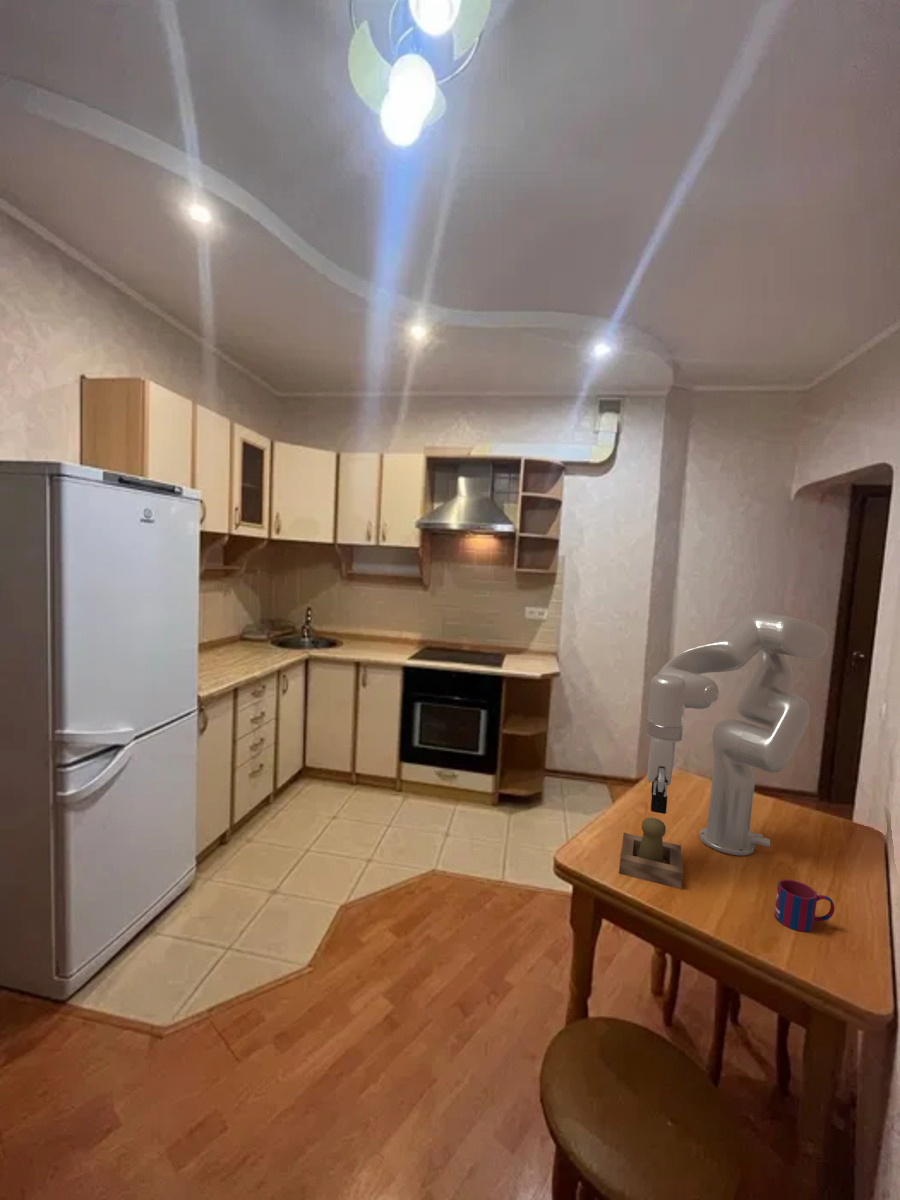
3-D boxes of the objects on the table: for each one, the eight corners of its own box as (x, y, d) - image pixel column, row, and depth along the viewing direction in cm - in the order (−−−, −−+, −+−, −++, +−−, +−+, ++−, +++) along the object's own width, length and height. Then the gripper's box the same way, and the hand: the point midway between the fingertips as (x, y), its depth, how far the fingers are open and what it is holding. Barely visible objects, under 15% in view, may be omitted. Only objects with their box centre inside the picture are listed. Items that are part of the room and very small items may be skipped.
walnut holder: (679, 859, 134) (680, 845, 133) (681, 888, 122) (682, 873, 121) (622, 846, 138) (623, 832, 138) (618, 873, 126) (620, 858, 126)
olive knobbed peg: (665, 875, 126) (670, 828, 125) (637, 870, 128) (642, 824, 127) (661, 861, 132) (665, 816, 131) (634, 857, 133) (638, 812, 133)
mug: (771, 906, 117) (775, 875, 117) (827, 921, 114) (832, 889, 113) (777, 925, 111) (781, 892, 111) (836, 941, 108) (841, 907, 107)
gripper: (647, 717, 137) (642, 785, 138) (645, 739, 120) (639, 816, 122) (680, 722, 134) (675, 791, 136) (683, 745, 118) (676, 823, 120)
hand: (658, 802), depth 129 cm, fingers open, 9 cm apart
